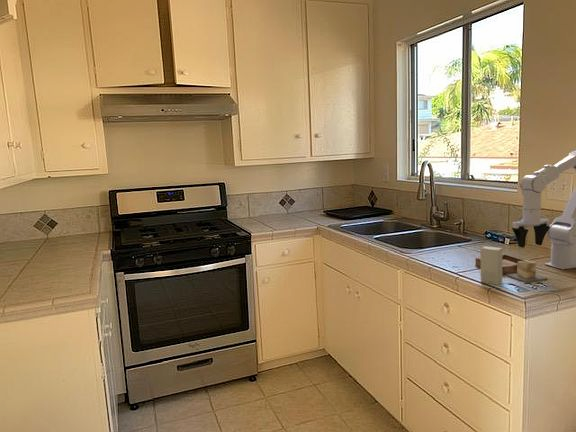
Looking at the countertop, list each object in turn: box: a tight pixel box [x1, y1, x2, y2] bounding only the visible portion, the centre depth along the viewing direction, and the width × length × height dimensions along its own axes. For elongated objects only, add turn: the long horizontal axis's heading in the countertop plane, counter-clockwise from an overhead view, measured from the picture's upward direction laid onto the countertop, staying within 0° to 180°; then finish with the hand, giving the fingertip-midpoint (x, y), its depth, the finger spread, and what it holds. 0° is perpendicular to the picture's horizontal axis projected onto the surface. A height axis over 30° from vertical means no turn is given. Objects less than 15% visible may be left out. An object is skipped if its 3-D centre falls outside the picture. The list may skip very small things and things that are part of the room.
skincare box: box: [480, 245, 503, 286], centre depth 153 cm, size 6×4×12 cm
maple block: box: [517, 259, 537, 278], centre depth 157 cm, size 4×4×5 cm
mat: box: [505, 273, 548, 284], centre depth 157 cm, size 9×9×1 cm
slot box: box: [474, 253, 525, 276], centre depth 170 cm, size 14×14×3 cm
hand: (530, 245), depth 163 cm, fingers open, 7 cm apart
